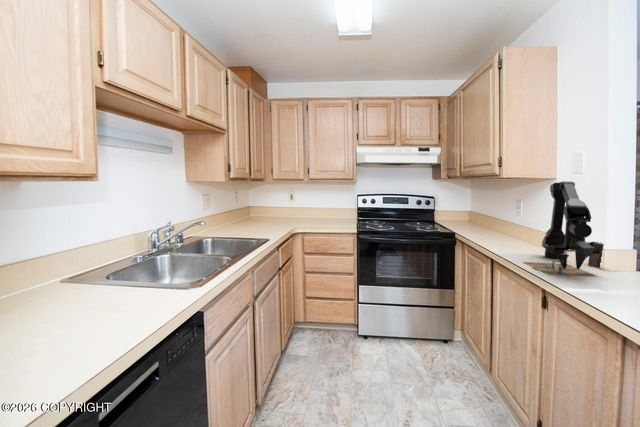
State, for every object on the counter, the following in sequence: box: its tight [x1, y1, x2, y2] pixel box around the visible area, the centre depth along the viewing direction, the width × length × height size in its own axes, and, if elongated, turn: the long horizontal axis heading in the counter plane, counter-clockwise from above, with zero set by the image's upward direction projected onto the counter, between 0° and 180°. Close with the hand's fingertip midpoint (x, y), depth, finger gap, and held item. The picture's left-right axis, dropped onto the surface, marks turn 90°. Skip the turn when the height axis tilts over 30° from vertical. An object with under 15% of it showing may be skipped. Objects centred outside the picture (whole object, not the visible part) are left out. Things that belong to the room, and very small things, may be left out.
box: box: [587, 241, 605, 269], centre depth 145 cm, size 6×4×12 cm
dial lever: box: [551, 259, 563, 274], centre depth 136 cm, size 13×3×3 cm, turn 150°
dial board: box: [521, 261, 599, 278], centre depth 139 cm, size 20×21×1 cm
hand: (571, 268), depth 134 cm, fingers open, 5 cm apart
